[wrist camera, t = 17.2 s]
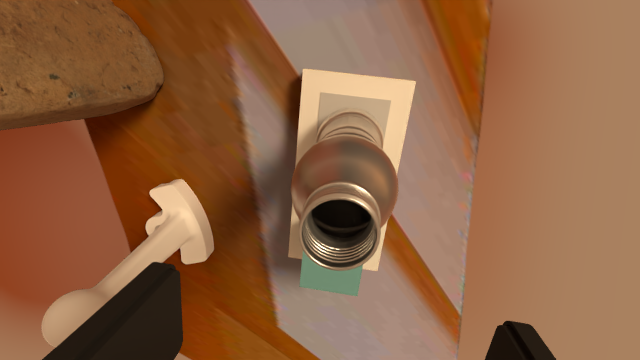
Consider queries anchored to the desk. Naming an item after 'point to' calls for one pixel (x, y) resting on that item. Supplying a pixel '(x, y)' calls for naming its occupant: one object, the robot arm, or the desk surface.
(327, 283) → the cube
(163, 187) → the joystick
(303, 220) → the plastic bottle
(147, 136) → the desk surface
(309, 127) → the board
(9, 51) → the block
